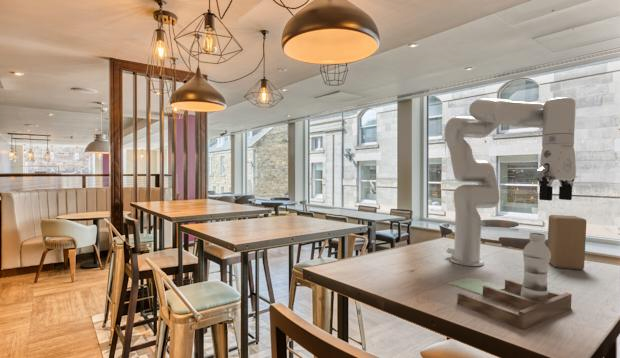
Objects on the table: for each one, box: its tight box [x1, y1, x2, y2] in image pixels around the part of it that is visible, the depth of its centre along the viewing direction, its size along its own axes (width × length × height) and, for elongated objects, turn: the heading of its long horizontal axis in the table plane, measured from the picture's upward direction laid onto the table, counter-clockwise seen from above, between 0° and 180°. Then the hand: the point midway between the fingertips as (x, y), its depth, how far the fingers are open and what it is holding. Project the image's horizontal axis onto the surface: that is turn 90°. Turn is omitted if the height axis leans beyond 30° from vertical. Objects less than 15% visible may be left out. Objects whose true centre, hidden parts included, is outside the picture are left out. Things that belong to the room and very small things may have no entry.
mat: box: [447, 276, 506, 296], centre depth 109 cm, size 12×12×1 cm
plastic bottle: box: [519, 232, 551, 303], centre depth 94 cm, size 6×7×20 cm
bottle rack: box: [456, 278, 573, 331], centre depth 93 cm, size 17×26×4 cm
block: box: [546, 214, 587, 271], centre depth 136 cm, size 10×10×20 cm
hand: (555, 199), depth 99 cm, fingers open, 9 cm apart
